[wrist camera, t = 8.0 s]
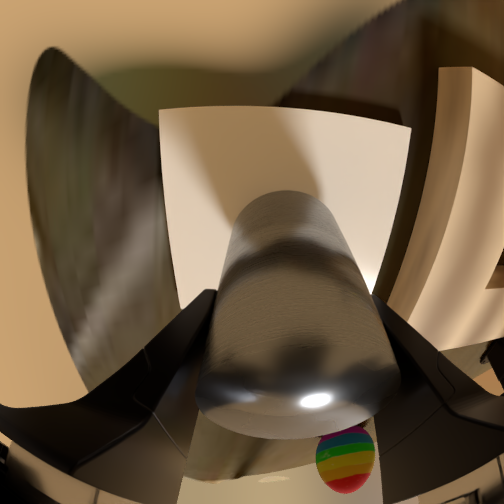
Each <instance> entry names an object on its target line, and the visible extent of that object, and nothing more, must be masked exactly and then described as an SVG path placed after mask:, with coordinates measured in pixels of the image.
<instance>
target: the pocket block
mask: <svg viewBox="0 0 504 504" xmlns="http://www.w3.org/2000/svg"><path fill="white" fill-rule="evenodd" d="M503 248H504V86H503V85H501V84H500V83H498V82H497V81H495V80H493V79H492V78H490V77H489V76H487V75H485V74H484V73H482V72H480V71H479V70H477V69H475V68H473V67H442V68H439V76H438V96H437V108H436V118H435V127H434V134H433V141H432V148H431V154H430V160H429V165H428V170H427V175H426V180H425V185H424V189H423V193H422V198H421V202H420V206H419V210H418V213H417V217H416V221H415V224H414V228H413V231H412V235H411V238H410V241H409V244H408V247H407V251H406V254H405V257H404V260H403V262H402V265H401V268H400V271H399V274H398V276H397V279H396V282H395V284H394V287H393V290H392V292H391V295H390V297H389V300H388V302H387V305H388V306H389V307H390V308H391V309H392V310H394V311H395V312H396V313H397V314H398V315H399V316H401V317H402V318H403V319H404V320H405V321H406V322H407V323H409V324H410V325H411V326H412V327H413V328H414V329H415V330H416V331H418V332H419V333H420V334H421V335H422V336H423V337H424V338H425V339H427V340H428V341H429V342H430V343H431V344H432V345H433V346H434V347H435V348H436V349H437V350H438V351H441V350H446V349H452V348H457V347H462V346H467V345H472V344H476V343H481V342H485V341H489V340H493V339H497V338H501V337H504V265H497V263H498V260H499V258H500V256H501V253H502V251H503Z"/></svg>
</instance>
